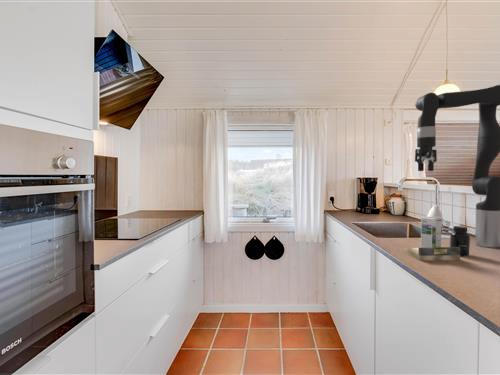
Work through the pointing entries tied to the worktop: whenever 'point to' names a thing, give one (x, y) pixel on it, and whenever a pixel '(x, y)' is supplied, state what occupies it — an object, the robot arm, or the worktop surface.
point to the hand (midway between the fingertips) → (425, 171)
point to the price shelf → (434, 253)
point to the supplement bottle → (460, 240)
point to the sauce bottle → (435, 213)
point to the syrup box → (430, 232)
